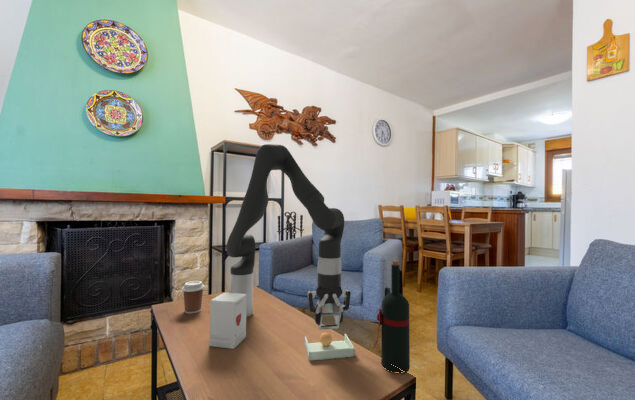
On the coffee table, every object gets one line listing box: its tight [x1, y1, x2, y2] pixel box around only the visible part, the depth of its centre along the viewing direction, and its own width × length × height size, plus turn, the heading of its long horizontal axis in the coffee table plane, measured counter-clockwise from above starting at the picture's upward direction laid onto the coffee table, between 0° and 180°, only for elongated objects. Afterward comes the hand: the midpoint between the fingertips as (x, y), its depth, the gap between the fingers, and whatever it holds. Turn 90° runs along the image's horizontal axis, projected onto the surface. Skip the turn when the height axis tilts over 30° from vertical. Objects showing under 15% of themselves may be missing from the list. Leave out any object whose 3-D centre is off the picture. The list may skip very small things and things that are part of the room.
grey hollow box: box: [317, 300, 341, 331], centre depth 90 cm, size 6×6×7 cm
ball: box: [319, 331, 333, 346], centre depth 92 cm, size 4×4×4 cm
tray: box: [304, 333, 356, 362], centre depth 89 cm, size 10×14×2 cm
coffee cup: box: [181, 280, 206, 314], centre depth 122 cm, size 9×9×12 cm
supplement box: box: [208, 292, 247, 350], centre depth 95 cm, size 9×9×15 cm
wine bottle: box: [373, 259, 411, 373], centre depth 81 cm, size 8×10×30 cm
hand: (328, 323), depth 89 cm, fingers closed on grey hollow box, 6 cm apart
